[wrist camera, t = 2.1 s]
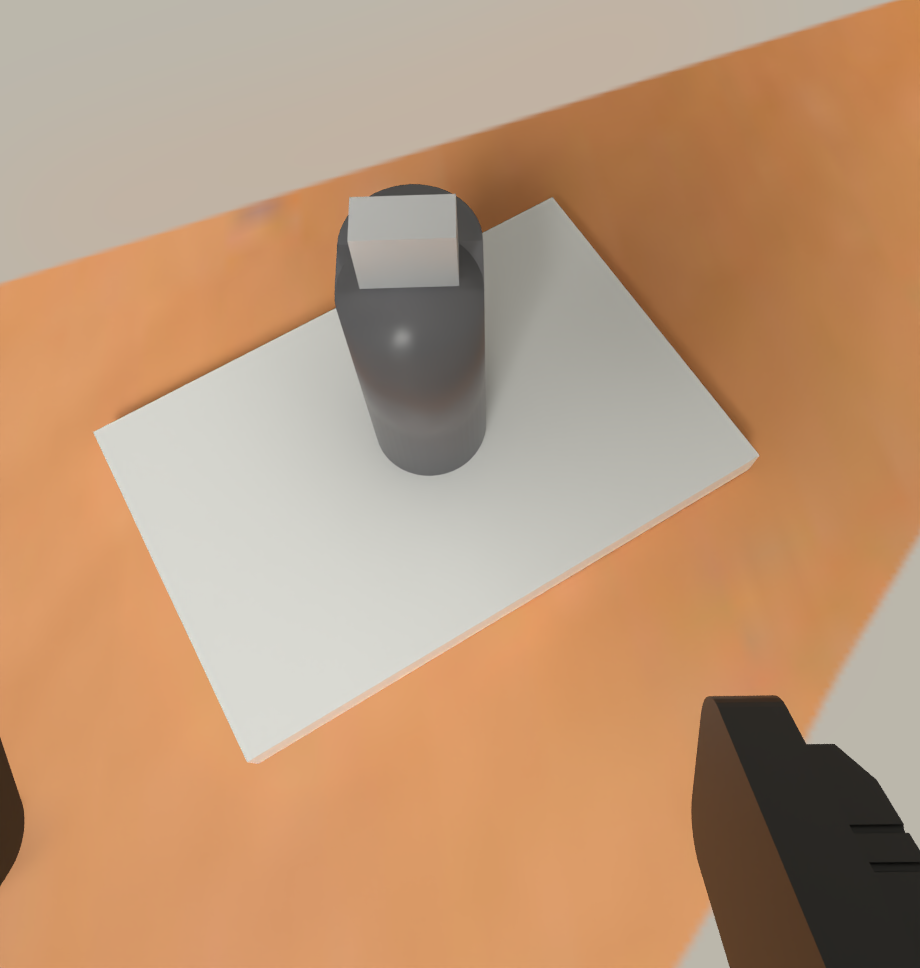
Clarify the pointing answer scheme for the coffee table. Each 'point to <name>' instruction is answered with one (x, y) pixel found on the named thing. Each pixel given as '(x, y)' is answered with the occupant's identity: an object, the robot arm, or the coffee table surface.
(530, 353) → the dock plate
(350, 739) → the coffee table surface
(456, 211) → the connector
